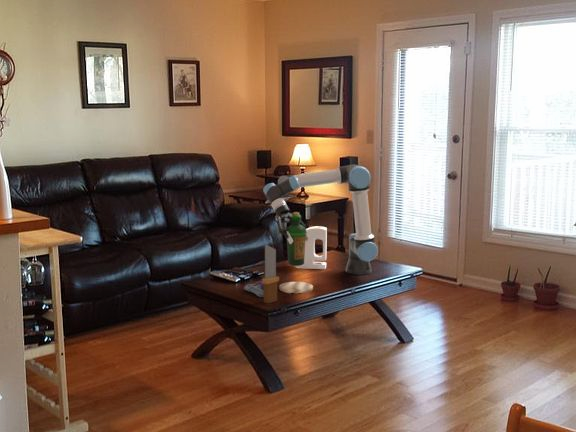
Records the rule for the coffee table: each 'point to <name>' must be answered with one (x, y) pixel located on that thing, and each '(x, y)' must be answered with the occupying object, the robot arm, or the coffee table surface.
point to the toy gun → (256, 288)
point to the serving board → (296, 287)
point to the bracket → (310, 255)
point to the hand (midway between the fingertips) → (299, 241)
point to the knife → (270, 275)
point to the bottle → (296, 241)
